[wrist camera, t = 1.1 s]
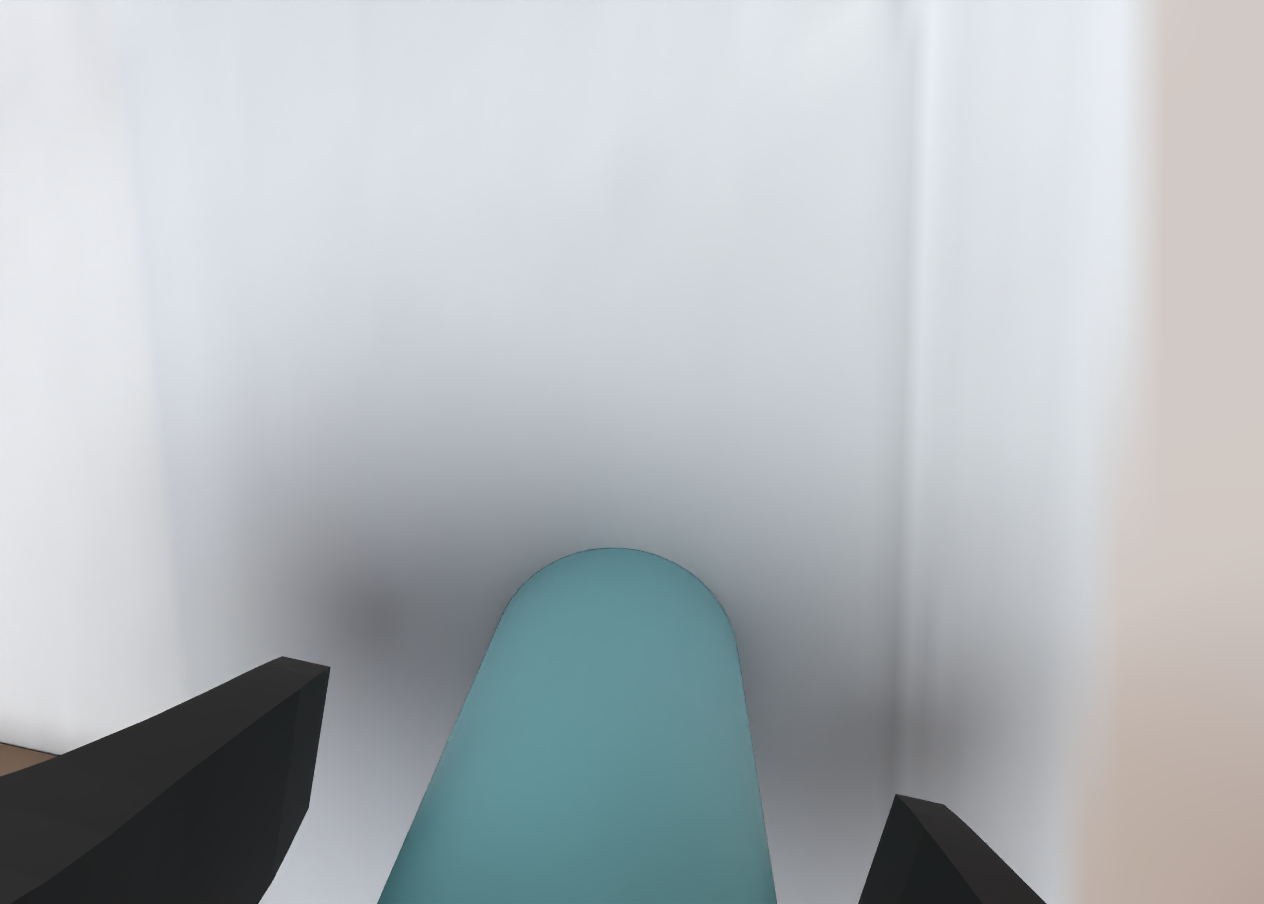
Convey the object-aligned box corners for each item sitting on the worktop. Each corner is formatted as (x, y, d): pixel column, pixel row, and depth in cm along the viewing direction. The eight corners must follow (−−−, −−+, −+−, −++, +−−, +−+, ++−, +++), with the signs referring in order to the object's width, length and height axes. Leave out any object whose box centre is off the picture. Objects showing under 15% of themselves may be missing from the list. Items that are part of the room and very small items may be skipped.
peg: (704, 795, 15) (764, 1777, 6) (473, 743, 15) (128, 1645, 6) (766, 579, 14) (964, 1315, 5) (518, 523, 14) (196, 1150, 5)
